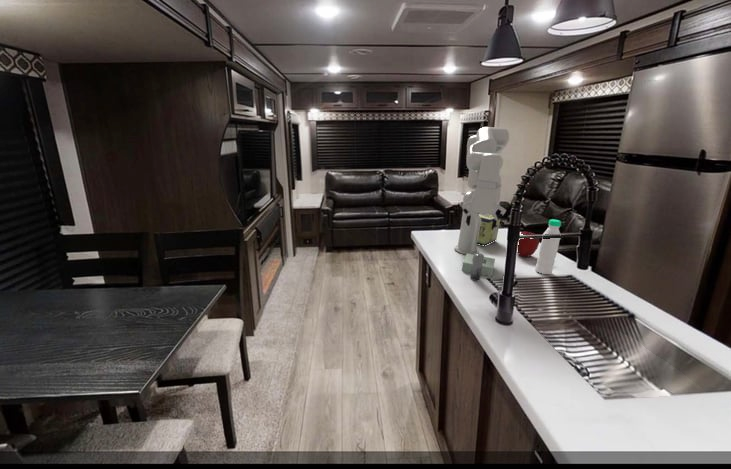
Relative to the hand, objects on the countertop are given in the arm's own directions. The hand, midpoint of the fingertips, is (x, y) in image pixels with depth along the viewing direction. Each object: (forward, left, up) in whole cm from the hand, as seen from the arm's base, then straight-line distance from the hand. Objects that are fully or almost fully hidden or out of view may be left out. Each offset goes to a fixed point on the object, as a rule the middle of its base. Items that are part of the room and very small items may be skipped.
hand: (480, 227), depth 140 cm
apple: (-44, +21, -23) cm, 54 cm away
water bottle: (-24, +29, -23) cm, 44 cm away
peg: (+1, +1, -23) cm, 23 cm away
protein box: (-56, -1, -23) cm, 60 cm away
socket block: (-12, +1, -23) cm, 26 cm away
